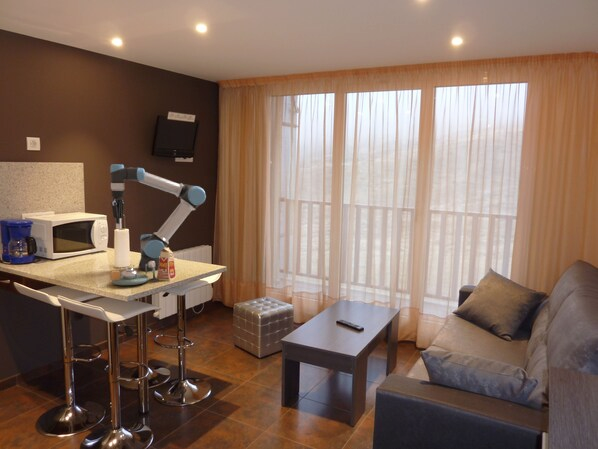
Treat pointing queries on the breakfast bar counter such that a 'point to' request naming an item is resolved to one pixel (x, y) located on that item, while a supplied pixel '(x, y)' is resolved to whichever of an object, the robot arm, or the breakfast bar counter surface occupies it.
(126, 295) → the breakfast bar counter surface
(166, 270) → the milk carton
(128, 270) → the cover
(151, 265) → the dial indicator
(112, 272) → the turntable
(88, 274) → the breakfast bar counter surface
